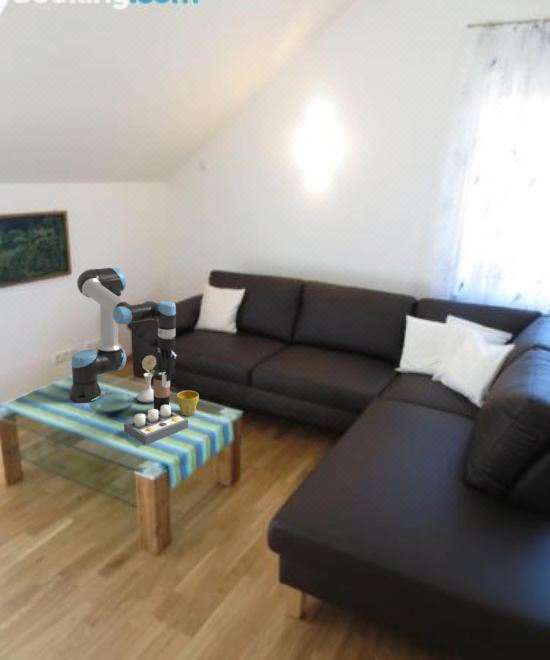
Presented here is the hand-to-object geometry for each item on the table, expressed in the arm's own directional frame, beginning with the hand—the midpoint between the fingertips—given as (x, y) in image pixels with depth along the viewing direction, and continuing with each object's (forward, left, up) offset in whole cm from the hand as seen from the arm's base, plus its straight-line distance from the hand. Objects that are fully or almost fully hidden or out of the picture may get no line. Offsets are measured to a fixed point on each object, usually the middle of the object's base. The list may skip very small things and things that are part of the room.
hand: (165, 386), depth 224 cm
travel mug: (-11, +6, -19) cm, 23 cm away
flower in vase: (-25, +9, -19) cm, 33 cm away
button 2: (0, -7, -15) cm, 17 cm away
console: (+3, -7, -18) cm, 20 cm away
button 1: (0, -14, -15) cm, 21 cm away
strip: (+7, -7, -14) cm, 18 cm away
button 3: (0, 0, -15) cm, 15 cm away
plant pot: (-1, +14, -19) cm, 24 cm away
